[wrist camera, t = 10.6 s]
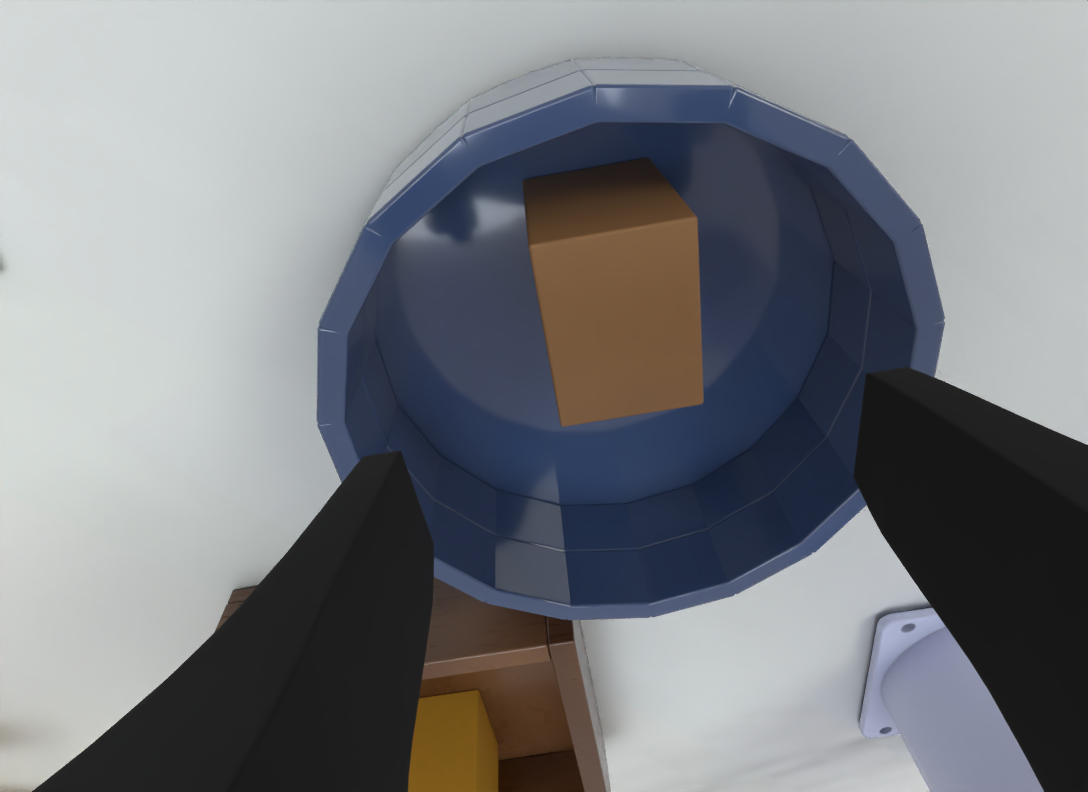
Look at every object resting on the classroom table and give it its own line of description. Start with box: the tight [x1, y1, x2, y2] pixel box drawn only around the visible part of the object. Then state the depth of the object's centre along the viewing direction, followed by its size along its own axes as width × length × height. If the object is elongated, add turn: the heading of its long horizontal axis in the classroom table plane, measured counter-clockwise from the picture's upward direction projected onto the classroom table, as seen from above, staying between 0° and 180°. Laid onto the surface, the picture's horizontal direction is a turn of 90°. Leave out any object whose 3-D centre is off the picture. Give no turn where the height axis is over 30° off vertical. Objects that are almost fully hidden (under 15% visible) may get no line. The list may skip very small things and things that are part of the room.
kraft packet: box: [522, 158, 704, 427], centre depth 14 cm, size 3×4×4 cm
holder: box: [214, 578, 611, 792], centre depth 24 cm, size 12×13×4 cm
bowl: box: [317, 57, 945, 620], centre depth 16 cm, size 13×13×4 cm
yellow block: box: [408, 690, 498, 792], centre depth 25 cm, size 3×4×4 cm
